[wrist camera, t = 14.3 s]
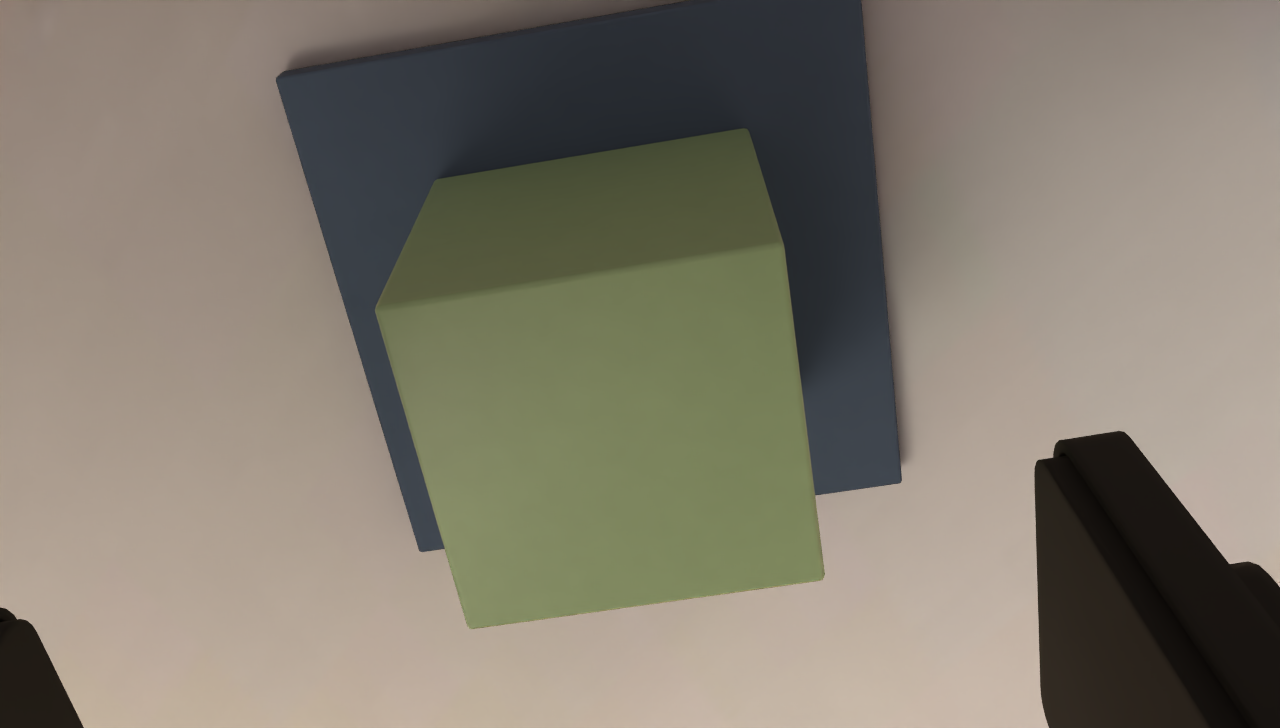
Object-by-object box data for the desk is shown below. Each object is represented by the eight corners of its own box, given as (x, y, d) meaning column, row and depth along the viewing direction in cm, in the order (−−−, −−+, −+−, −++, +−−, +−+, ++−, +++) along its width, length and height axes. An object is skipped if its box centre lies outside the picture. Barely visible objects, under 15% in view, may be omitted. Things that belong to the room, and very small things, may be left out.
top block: (502, 448, 19) (467, 631, 15) (433, 178, 17) (372, 307, 13) (785, 405, 19) (826, 582, 15) (748, 126, 17) (784, 242, 13)
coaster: (423, 539, 20) (419, 553, 20) (281, 71, 17) (274, 78, 17) (897, 470, 20) (902, 483, 20) (854, -29, 16) (859, -25, 16)
